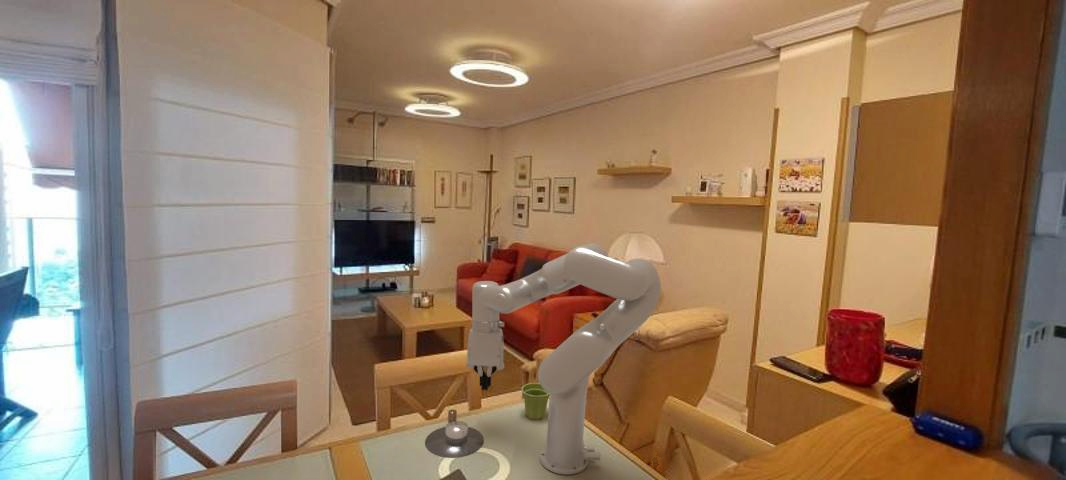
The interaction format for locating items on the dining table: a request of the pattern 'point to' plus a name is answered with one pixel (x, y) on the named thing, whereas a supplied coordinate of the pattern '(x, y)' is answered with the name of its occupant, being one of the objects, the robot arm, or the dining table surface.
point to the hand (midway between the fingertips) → (485, 388)
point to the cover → (456, 433)
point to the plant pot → (535, 400)
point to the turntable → (442, 449)
